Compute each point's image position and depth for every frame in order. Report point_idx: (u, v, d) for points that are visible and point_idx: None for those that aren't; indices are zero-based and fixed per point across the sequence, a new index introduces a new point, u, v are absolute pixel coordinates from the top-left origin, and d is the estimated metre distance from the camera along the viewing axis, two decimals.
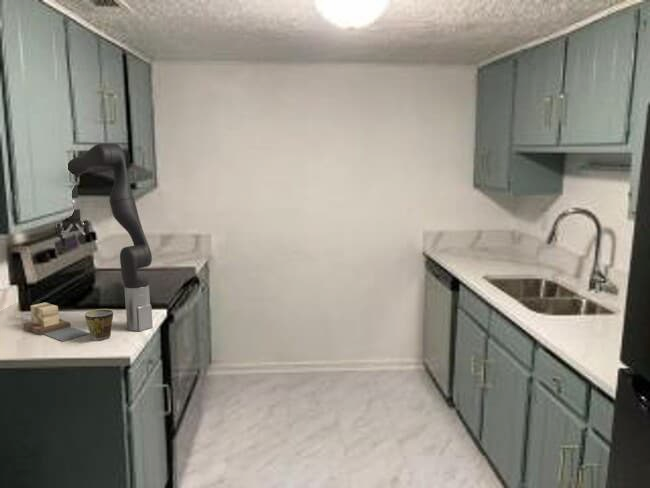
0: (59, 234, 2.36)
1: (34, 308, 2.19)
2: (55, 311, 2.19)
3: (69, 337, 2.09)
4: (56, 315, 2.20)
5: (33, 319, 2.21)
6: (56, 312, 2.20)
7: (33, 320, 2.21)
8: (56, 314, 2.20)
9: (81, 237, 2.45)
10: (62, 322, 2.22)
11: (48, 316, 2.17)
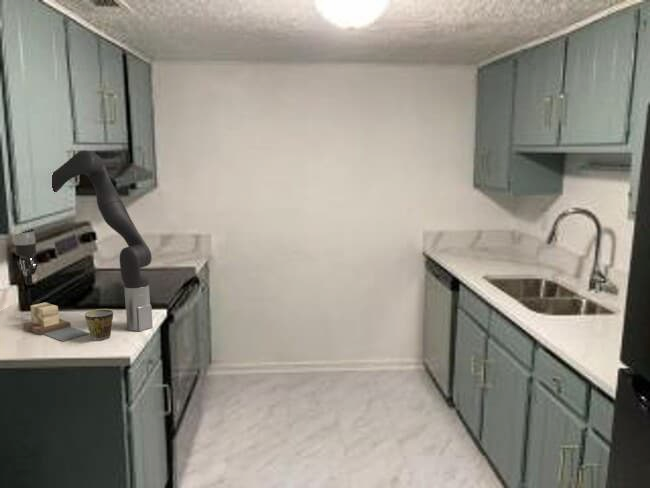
0: None
1: (34, 308, 2.19)
2: (55, 311, 2.19)
3: (69, 337, 2.09)
4: (56, 315, 2.20)
5: (33, 319, 2.21)
6: (56, 312, 2.20)
7: (33, 320, 2.21)
8: (56, 314, 2.20)
9: None
10: (62, 322, 2.22)
11: (48, 316, 2.17)
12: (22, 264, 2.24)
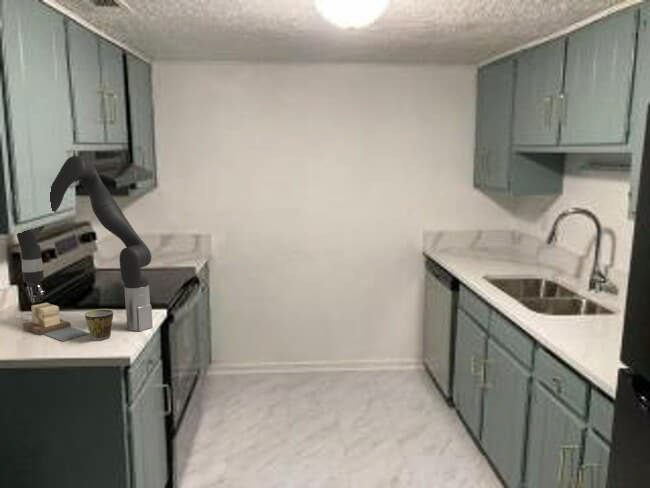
0: None
1: (35, 308, 2.19)
2: (56, 311, 2.19)
3: (69, 337, 2.09)
4: (57, 315, 2.19)
5: (34, 319, 2.21)
6: (57, 312, 2.19)
7: (34, 320, 2.21)
8: (57, 314, 2.19)
9: None
10: (62, 322, 2.22)
11: (49, 316, 2.17)
12: (30, 291, 2.23)
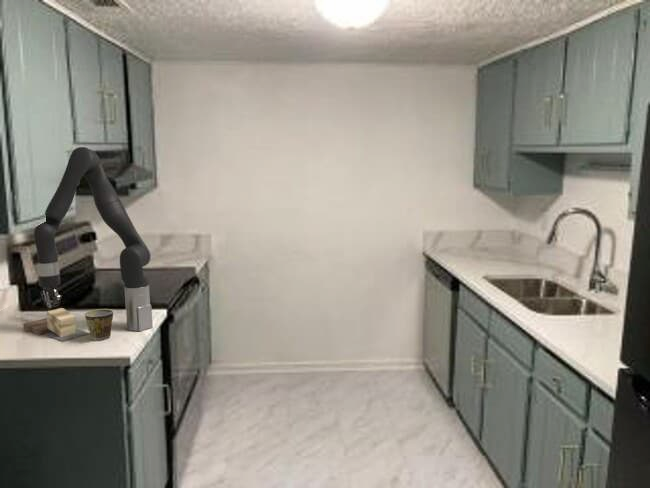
0: None
1: (51, 315, 2.11)
2: (73, 321, 2.12)
3: (69, 337, 2.09)
4: (73, 325, 2.13)
5: (49, 325, 2.14)
6: (73, 322, 2.12)
7: (49, 326, 2.14)
8: (73, 324, 2.12)
9: None
10: None
11: (65, 326, 2.10)
12: (46, 295, 2.15)
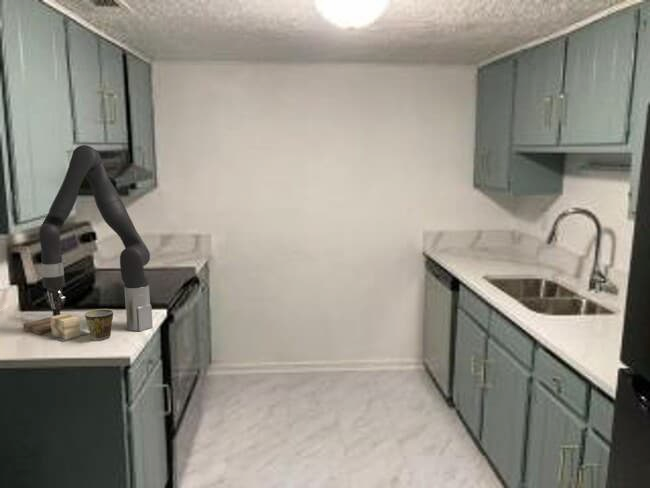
0: None
1: (54, 320, 2.10)
2: (76, 323, 2.10)
3: None
4: (77, 327, 2.10)
5: (53, 331, 2.12)
6: (77, 324, 2.10)
7: (53, 332, 2.12)
8: (77, 326, 2.10)
9: None
10: None
11: (69, 328, 2.08)
12: (50, 297, 2.13)
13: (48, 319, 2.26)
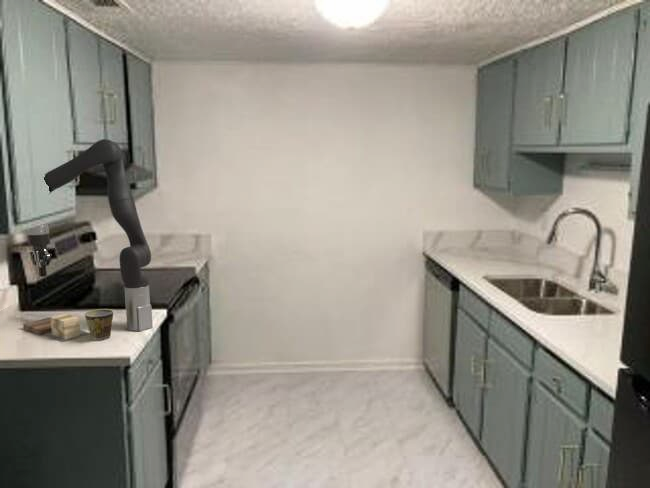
0: None
1: (54, 320, 2.10)
2: (76, 323, 2.10)
3: None
4: (77, 327, 2.10)
5: (53, 331, 2.12)
6: (77, 324, 2.10)
7: (53, 332, 2.12)
8: (77, 326, 2.10)
9: None
10: None
11: (69, 328, 2.08)
12: (36, 255, 2.15)
13: (48, 319, 2.26)
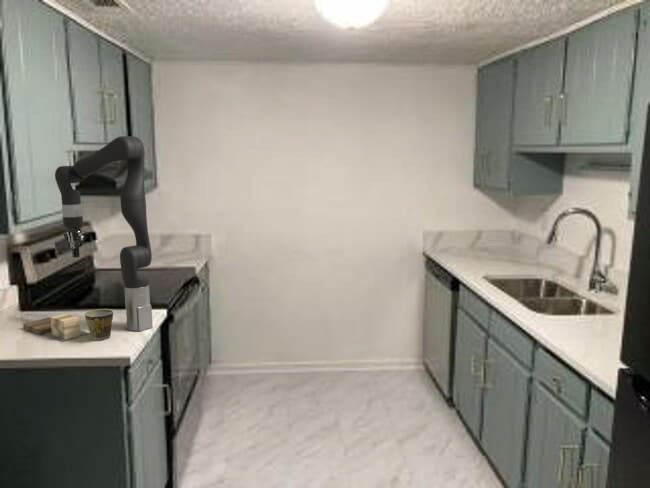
0: None
1: (54, 320, 2.10)
2: (76, 323, 2.10)
3: None
4: (77, 327, 2.10)
5: (53, 331, 2.12)
6: (77, 324, 2.10)
7: (53, 332, 2.12)
8: (77, 326, 2.10)
9: None
10: None
11: (69, 328, 2.08)
12: (69, 236, 2.25)
13: (48, 319, 2.26)
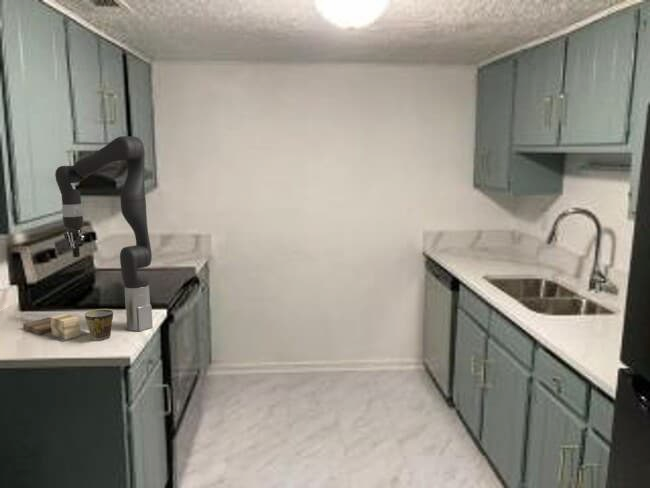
0: None
1: (54, 320, 2.10)
2: (76, 323, 2.10)
3: None
4: (77, 327, 2.10)
5: (53, 331, 2.12)
6: (77, 324, 2.10)
7: (53, 332, 2.12)
8: (77, 326, 2.10)
9: None
10: None
11: (69, 328, 2.08)
12: (70, 236, 2.25)
13: (48, 319, 2.26)
